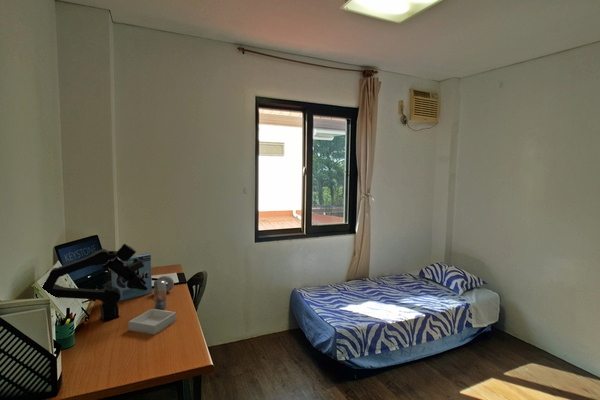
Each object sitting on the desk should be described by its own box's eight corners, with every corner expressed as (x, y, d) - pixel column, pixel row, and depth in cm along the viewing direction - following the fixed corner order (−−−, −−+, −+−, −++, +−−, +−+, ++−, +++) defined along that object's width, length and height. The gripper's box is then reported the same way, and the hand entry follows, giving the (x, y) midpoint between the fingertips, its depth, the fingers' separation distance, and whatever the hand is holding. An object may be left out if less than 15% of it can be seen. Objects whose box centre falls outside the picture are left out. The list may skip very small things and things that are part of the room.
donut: (155, 294, 179) (154, 277, 178) (155, 292, 182) (155, 275, 181) (174, 292, 183) (173, 275, 182) (174, 290, 186) (173, 273, 185)
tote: (154, 334, 134) (154, 326, 134) (128, 330, 138) (128, 321, 138) (176, 320, 148) (176, 312, 147) (152, 316, 152) (151, 308, 151)
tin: (158, 311, 157) (157, 284, 156) (152, 308, 161) (151, 281, 159) (169, 307, 162) (168, 281, 161) (162, 304, 165) (161, 278, 164)
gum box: (149, 291, 184) (148, 252, 182) (152, 293, 181) (151, 254, 179) (112, 300, 171) (110, 259, 169) (114, 302, 167) (112, 260, 165)
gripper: (134, 259, 145) (160, 279, 152) (132, 251, 161) (156, 268, 168) (115, 279, 142) (143, 298, 148) (115, 268, 158) (140, 285, 164)
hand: (146, 286), depth 157 cm, fingers open, 9 cm apart
